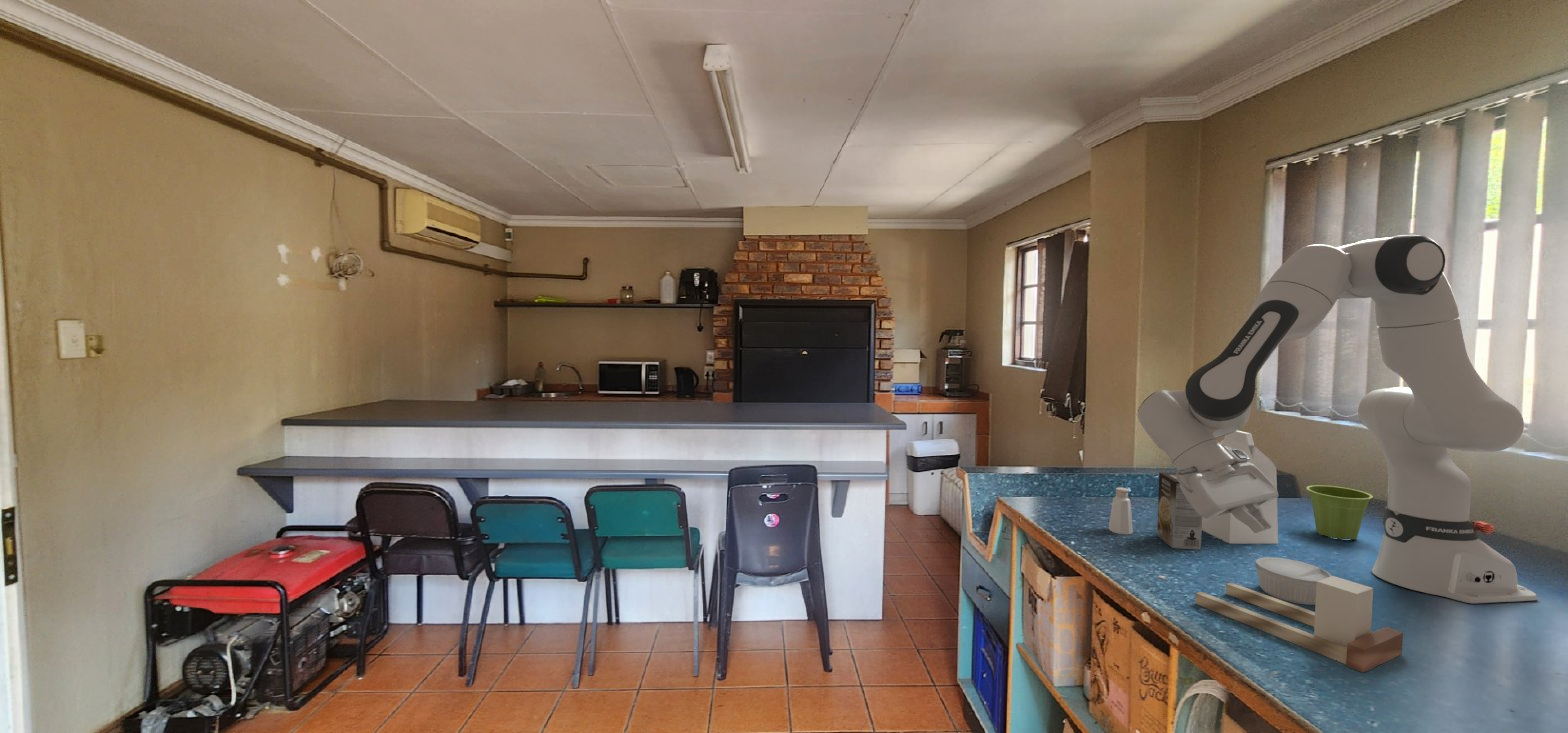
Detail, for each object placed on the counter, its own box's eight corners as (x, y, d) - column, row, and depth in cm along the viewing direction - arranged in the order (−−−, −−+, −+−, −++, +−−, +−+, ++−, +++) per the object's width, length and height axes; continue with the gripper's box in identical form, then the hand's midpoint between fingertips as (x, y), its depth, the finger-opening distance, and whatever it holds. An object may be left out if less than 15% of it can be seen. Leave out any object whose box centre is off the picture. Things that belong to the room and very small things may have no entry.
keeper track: (1193, 604, 108) (1194, 585, 108) (1231, 592, 113) (1232, 574, 113) (1363, 673, 86) (1364, 650, 86) (1401, 654, 91) (1403, 632, 91)
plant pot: (1292, 527, 150) (1294, 484, 149) (1343, 529, 148) (1346, 486, 148) (1328, 544, 138) (1330, 497, 138) (1384, 546, 137) (1387, 499, 136)
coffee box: (1155, 535, 145) (1157, 471, 144) (1184, 536, 143) (1186, 472, 142) (1172, 548, 136) (1174, 480, 135) (1202, 550, 134) (1205, 482, 133)
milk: (1278, 543, 139) (1283, 435, 137) (1229, 543, 139) (1234, 435, 137) (1239, 526, 151) (1243, 427, 149) (1194, 526, 151) (1198, 427, 149)
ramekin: (1338, 614, 104) (1340, 585, 104) (1259, 599, 110) (1260, 572, 110) (1322, 590, 114) (1324, 564, 114) (1250, 577, 120) (1251, 552, 119)
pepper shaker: (1133, 530, 148) (1134, 487, 148) (1132, 536, 144) (1134, 492, 143) (1109, 526, 151) (1110, 484, 151) (1107, 532, 147) (1109, 489, 146)
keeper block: (1313, 641, 95) (1316, 581, 94) (1329, 634, 97) (1332, 575, 96) (1353, 656, 90) (1357, 594, 89) (1369, 649, 92) (1373, 588, 91)
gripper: (1184, 461, 105) (1244, 531, 96) (1249, 450, 113) (1310, 513, 105) (1159, 480, 109) (1214, 548, 101) (1224, 468, 117) (1280, 530, 109)
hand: (1264, 530), depth 103 cm, fingers closed
